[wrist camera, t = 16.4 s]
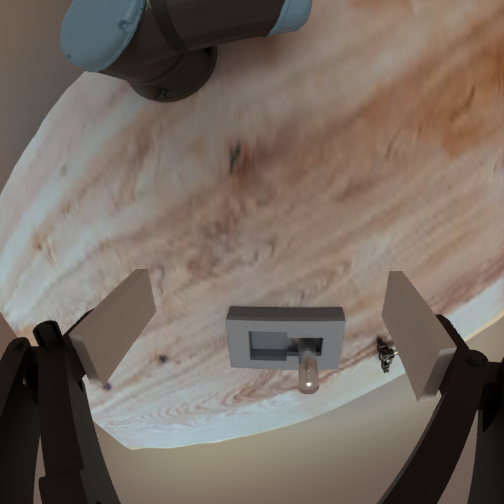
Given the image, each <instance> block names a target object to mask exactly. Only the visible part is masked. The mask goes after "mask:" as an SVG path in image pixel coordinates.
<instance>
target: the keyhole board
mask: <svg viewBox="0 0 504 504" xmlns="http://www.w3.org/2000/svg"><path fill="white" fill-rule="evenodd" d="M345 323H346V320H345V316H344V313H343V309H342V307H334V308H277V307H234V306H231V307H230V309H229V312H228V315H227V318H226V326H227V335H228V344H229V353H230V362H231V367H234V368H252V369H281V370H299V369H298V350H296V349H295V348H294V347H293V345H292V338H321V342H320V345H319V346H318V348H317V349H316V358H317V369H318V370H321V369H338V366H339V360H340V355H341V349H342V342H343V336H344V330H345Z"/></svg>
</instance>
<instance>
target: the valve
mask: <svg viewBox="0 0 504 504" xmlns="http://www.w3.org/2000/svg"><path fill="white" fill-rule="evenodd" d="M382 342H383V341H382V339H381V340H378V341H377V344H378V345H377V349H378V351H379V360H381V367H382V369H383V372H384V373H386V372H389V369H386V368H389V365H391V363H392V358H394V355H397V354H398V351H397V349H396V350H393V349H392V348H391V349H389V348H388V347H385V344H384V342H383V343H382ZM398 355H399V354H398ZM386 359H387V360H390V361H389V363H387V360H386Z"/></svg>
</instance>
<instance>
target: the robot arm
mask: <svg viewBox="0 0 504 504" xmlns="http://www.w3.org/2000/svg"><path fill="white" fill-rule="evenodd" d="M311 6H312V0H73V2H72V4H71V6H70V8H69V9H68V11H67V12H66V15H65V17H64V20H63V22H62V26H61V31H60V46H61V50H62V53H63V55H64V57H65V58H66V59H67V60H68V61H69V62H70V63H72V64H73V65H75V66H78V67H81V68H83V69H84V70H85V71H88V72H97V73H101V74H105V75H109V76H112V77H116V78H119V79H123V80H126V81H128V83H129V84H130V86H131V87H132V88H133V89H134V90H135V91H136V92H137V93H138V94H139V95H141V96H143V97H145V98H147V99H150V100H154V101H158V102H173V101H178V100H181V99H183V98H186V97H188V96H190V95H192V94H193V93H195V92H196V91H197V90H199V89H200V88H201V87H202V86H203V85H204V84H205V83H206V81H207V80H208V79H209V77H210V76H211V74H212V72H213V70H214V68H215V65H216V60H217V46H216V45H219V44H224V43H228V42H233V41H238V40H243V39H248V38H254V37H260V36H262V37H263V38H267V37H270V36H272V35H274V34H280V33H286V32H292V31H296V30H298V29H299V28H301V27H302V26H303V25H304V24H305V23H306V22H307V20H308V17H309V15H310V11H311ZM155 313H156V308H155V303H154V299H153V294H152V289H151V284H150V279H149V273H148V269H136V270H135V271H134V272H133V273H131V274H130V275H129V276H128V277H127V278H126V279H125V280H124V281H123V282H122V283H121V284H120V285H118V286H117V287H116V288H115V289H114V290H113V291H112V292H111V293H110V294H109V295H108V296H107V297H106V298H105V299H104V300H103V301H102V302H101V303H100V304H98V305H97V306H96V307H95V308H93V309H92V310H90V311H88V312H86V313H85V314H84V315H83V316H82V317H81V318H80V319H79V320H78V321H77V322H76V324H74V325H73V326H72V327H71V328H70V329H69V330H68V331H67V332H66V333H65V334H64V335H63V336H62V334H61V331H60V328H59V326H58V323H57V322H56V321H52V320H49V321H45V322H42V323H40V324H38V325H37V326H36V327H35V328H34V329H33V334H34V336H35V339H36V341H37V343H38V345H39V346H31V344H30V342H29V340H28V339H27V338H25V337H20V338H16V339H14V340H13V341H12V342H11V343H10V344H9V345H8V346H7V348H6V351H5V353H4V354H3V356H2V358H1V360H0V504H33V495H34V480H35V469H36V460H37V452H38V445H39V438H40V435H41V445H42V452H43V460H44V466H45V473H46V475H45V477H40V479H39V490H40V495H41V500H42V504H121V503H120V501H119V499H118V496H117V494H116V491H115V489H114V487H113V484H112V481H111V478H110V476H109V473H108V470H107V467H106V464H105V461H104V458H103V455H102V452H101V449H100V445H99V442H98V439H97V435H96V432H95V428H94V424H93V420H92V416H91V412H90V408H89V403H88V399H87V394H86V389H85V384H84V382H83V380H82V378H83V376H84V375H85V374H86V375H87V377H88V379H89V381H90V383H92V384H95V385H99V386H104V385H105V383H106V382H107V380H108V379H109V378H110V376H111V375H112V373H113V372H114V370H115V369H116V367H117V366H118V364H119V363H120V362H121V360H122V359H123V357H124V356H125V354H126V353H127V352H128V350H129V349H130V347H131V346H132V345H133V343H134V342H135V340H136V339H137V337H138V336H139V335H140V333H141V332H142V330H143V329H144V328H145V326H146V325H147V324H148V322H149V321H150V319H151V318H152V317H153V315H154V314H155ZM382 318H383V320H384V322H385V324H386V327H387V329H388V331H389V333H390V335H391V338H392V340H393V342H394V345H395V347H396V349H397V351H398V354H399V356H400V358H401V361H402V363H403V366H404V368H405V371H406V373H407V375H408V378H409V381H410V383H411V386H412V388H413V391H414V393H415V395H416V398H417V401H418V402H421V401H428V400H433V399H434V398H435V396H436V394H437V392H438V390H440V393H441V395H442V397H441V399H440V401H439V403H438V405H437V406H436V408H435V410H434V412H433V415H432V417H431V419H430V421H429V423H428V425H427V427H426V429H425V430H424V432H423V434H422V436H421V438H420V439H419V441H418V443H417V445H416V447H415V448H414V450H413V452H412V453H411V455H410V456H409V458H408V460H407V461H406V463H405V465H404V466H403V468H402V469H401V471H400V472H399V474H398V475H397V477H396V478H395V480H394V481H393V482H392V484H391V485H390V487H389V488H388V489H387V491H386V492H385V494H384V495H383V496H382V497H381V499H380V500H379V501H378V503H377V504H437V503H438V501H439V499H440V497H441V495H442V493H443V491H444V490H445V488H446V486H447V484H448V482H449V480H450V477H451V475H452V473H453V471H454V469H455V467H456V464H457V462H458V460H459V457H460V455H461V453H462V450H463V448H464V445H465V443H466V440H467V437H468V435H469V432H470V429H471V426H472V424H473V421H474V417H475V414H476V411H477V410H478V427H477V442H476V453H475V462H474V469H473V476H472V482H471V487H470V493H469V498H468V502H467V504H504V357H503V359H502V362H501V363H500V362H488V359H487V357H486V356H485V355H484V354H483V353H481V352H479V351H476V350H470V349H469V348H468V346H467V345H466V343H465V342H464V340H463V339H462V338H461V336H460V335H459V333H457V331H456V329H455V328H454V326H453V325H452V324H451V322H450V321H449V320H448V319H447V318H445V317H444V316H442V315H441V314H440V315H435V314H434V313H433V311H432V310H431V309H430V307H429V306H428V305H427V303H426V302H425V300H424V299H423V298H422V296H421V295H420V294H419V292H418V291H417V290H416V288H415V287H414V286H413V285H412V283H411V282H410V281H409V279H408V278H407V277H406V276H405V274H404V273H403V272H402V271H389V276H388V283H387V289H386V295H385V300H384V306H383V311H382ZM23 381H24V382H25V384H23Z"/></svg>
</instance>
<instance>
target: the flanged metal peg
mask: <svg viewBox="0 0 504 504" xmlns="http://www.w3.org/2000/svg"><path fill="white" fill-rule="evenodd" d="M320 342H321V338H292V345H293V347H294V348H295V349H296V350H298V369H299V391H300V392H301V393H303V394H312V393H315V392H316V391H317V390H318V389H319V381H318V369H317V358H316V349H317V348H318V346H319V345H320Z"/></svg>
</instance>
